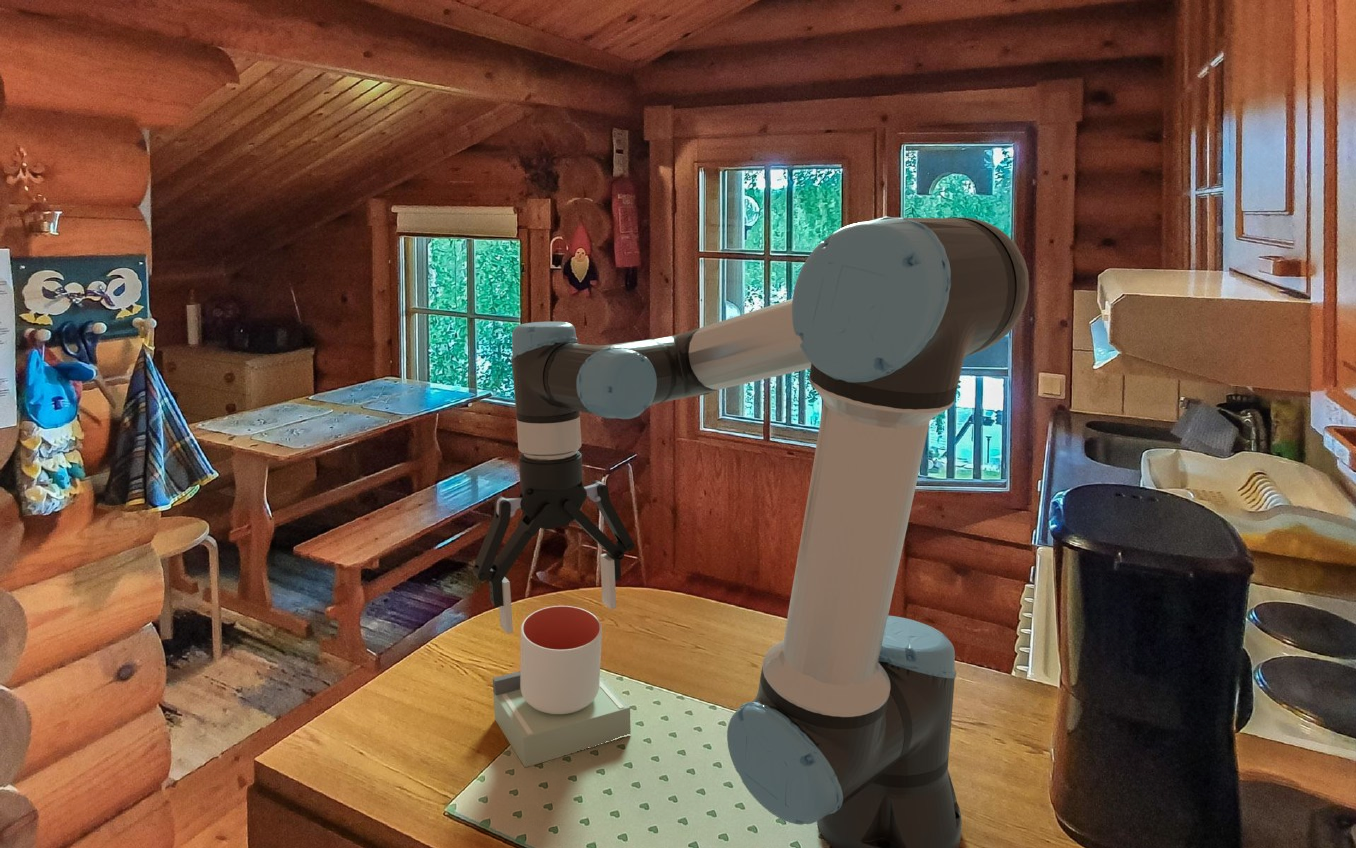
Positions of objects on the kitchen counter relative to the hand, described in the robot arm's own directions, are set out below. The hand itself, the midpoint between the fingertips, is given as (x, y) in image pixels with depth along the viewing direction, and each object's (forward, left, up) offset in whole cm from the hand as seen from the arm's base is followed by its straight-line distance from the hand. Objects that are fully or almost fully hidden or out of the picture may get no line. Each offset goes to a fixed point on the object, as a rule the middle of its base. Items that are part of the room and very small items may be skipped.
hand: (559, 617), depth 113 cm
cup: (+1, 0, -11) cm, 11 cm away
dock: (0, 0, -16) cm, 16 cm away
